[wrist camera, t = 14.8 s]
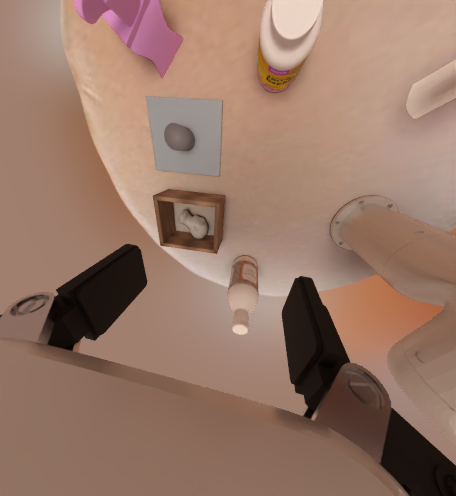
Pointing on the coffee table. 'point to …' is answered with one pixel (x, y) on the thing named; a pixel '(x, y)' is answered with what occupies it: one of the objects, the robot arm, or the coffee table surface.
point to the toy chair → (136, 27)
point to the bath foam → (243, 292)
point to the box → (185, 239)
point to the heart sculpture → (432, 91)
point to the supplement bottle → (286, 40)
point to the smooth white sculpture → (194, 224)
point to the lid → (186, 134)
